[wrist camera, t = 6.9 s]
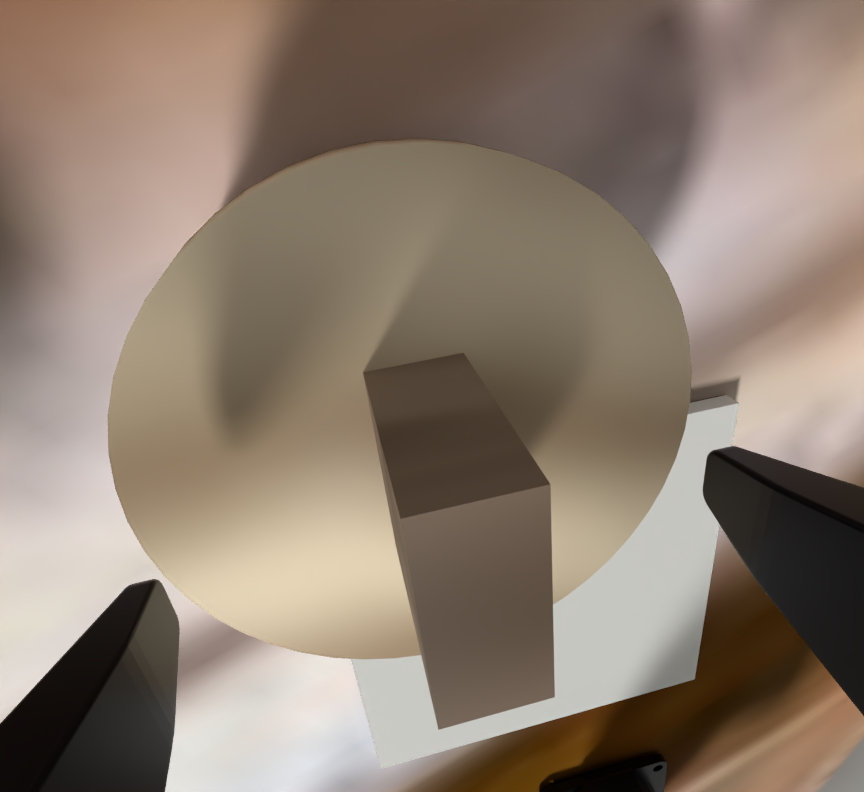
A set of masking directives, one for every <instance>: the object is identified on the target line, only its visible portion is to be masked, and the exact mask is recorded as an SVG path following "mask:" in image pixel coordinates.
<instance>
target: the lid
mask: <svg viewBox="0 0 864 792" xmlns="http://www.w3.org/2000/svg"><path fill="white" fill-rule="evenodd" d="M691 373H692V366H691V356H690V345H689V336H688V332H687V328H686V324H685V320H684V316H683V312H682V308H681V304H680V302H679V300H678V297H677V295H676V293H675V290H674V288H673V285H672V283H671V281H670V278H669V276H668V274H667V272H666V271H665V269H664V267H663V266H662V264H661V263H660V261H659V259H658V258H657V256H656V255H655V253H654V251H653V250H652V248H651V247H650V245H649V244H648V243H647V241H646V240H645V239H644V238H643V237H642V236H641V235H640V233H639V232H638V231H637V230H636V229H635V228H634V227H633V225H632V224H631V223H630V222H629V221H628V220H627V219H626V217H624V216H623V215H622V214H621V213H620V212H618V211H617V210H616V209H615V208H614V207H612V206H611V205H610V204H609V203H607V202H606V201H605V200H604V199H603V198H601V197H600V196H599V195H598V194H597V193H595V192H593V191H592V190H590V189H588V188H587V187H585V186H583V185H582V184H580V183H578V182H576V181H575V180H573V179H571V178H570V177H568V176H566V175H564V174H563V173H561V172H559V171H556V170H553V169H551V168H548V167H546V166H543V165H541V164H538V163H536V162H533V161H531V160H528V159H525V158H523V157H520V156H516V155H513V154H509V153H506V152H502V151H499V150H494V149H490V148H485V147H481V146H477V145H472V144H468V143H463V142H459V141H447V140H434V139H420V138H412V139H398V140H383V141H372V142H367V143H363V144H358V145H353V146H349V147H344V148H340V149H335V150H330V151H328V152H325V153H322V154H320V155H317V156H314V157H312V158H309V159H306V160H304V161H301V162H298V163H295V164H293V165H290V166H288V167H286V168H284V169H282V170H280V171H279V172H277V173H275V174H273V175H271V176H269V177H268V178H266V179H264V180H262V181H260V182H259V183H257V184H255V185H253V186H251V187H249V188H248V189H247V190H245V191H244V192H243V193H242V194H240V195H239V196H238V197H236V198H235V199H234V200H232V201H231V202H230V203H228V204H227V205H226V206H224V207H223V208H222V209H220V210H219V211H218V212H216V213H215V214H214V215H213V216H212V217H211V218H210V219H209V220H208V221H207V222H206V223H205V224H204V225H203V226H202V227H201V228H200V229H199V230H198V231H197V232H196V233H195V234H194V235H193V236H192V237H191V238H190V239H189V240H188V241H187V242H186V243H185V245H184V246H183V247H182V249H181V250H180V252H179V253H178V254H177V256H176V257H175V258H174V260H173V261H172V263H171V264H170V265H169V267H168V268H167V269H166V271H165V272H164V274H163V275H162V276H161V278H160V279H159V281H158V282H157V283H156V285H155V286H154V288H153V289H152V291H151V292H150V293H149V295H148V296H147V298H146V299H145V301H144V303H143V305H142V307H141V309H140V311H139V313H138V315H137V317H136V319H135V321H134V323H133V325H132V327H131V329H130V331H129V333H128V335H127V337H126V339H125V342H124V345H123V348H122V352H121V355H120V358H119V361H118V364H117V367H116V370H115V373H114V377H113V383H112V390H111V397H110V404H109V411H108V448H109V458H110V463H111V468H112V474H113V479H114V484H115V489H116V492H117V494H118V497H119V500H120V502H121V505H122V508H123V510H124V513H125V516H126V518H127V521H128V523H129V525H130V527H131V528H132V530H133V532H134V534H135V535H136V537H137V539H138V541H139V542H140V544H141V546H142V548H143V549H144V551H145V552H146V554H147V555H148V556H149V557H150V559H151V560H152V561H153V562H154V564H155V565H156V566H157V567H158V569H159V570H160V571H161V573H162V574H163V575H164V576H165V577H166V578H167V579H168V580H169V581H170V582H171V583H172V584H173V585H174V586H175V587H176V588H177V589H178V590H179V591H180V592H182V593H183V594H184V595H185V596H186V597H187V598H188V599H189V600H191V601H192V602H193V603H195V604H196V605H198V606H199V607H200V608H202V609H203V610H204V611H206V612H207V613H209V614H210V615H211V616H213V617H214V618H216V619H218V620H220V621H222V622H223V623H225V624H227V625H229V626H231V627H233V628H235V629H236V630H238V631H240V632H242V633H244V634H247V635H249V636H252V637H255V638H257V639H260V640H262V641H265V642H267V643H270V644H272V645H276V646H280V647H283V648H287V649H291V650H294V651H298V652H302V653H308V654H314V655H320V656H326V657H333V658H349V659H391V658H401V657H409V656H417V655H421V657H422V661H423V665H424V670H425V674H426V678H427V683H428V687H429V691H430V696H431V700H432V704H433V709H434V713H435V717H436V722H437V726H438V730H440V729H444V728H447V727H451V726H454V725H458V724H462V723H465V722H469V721H472V720H476V719H479V718H483V717H486V716H490V715H494V714H497V713H501V712H504V711H508V710H511V709H515V708H518V707H522V706H526V705H529V704H533V703H536V702H540V701H543V700H547V699H550V698H554V697H555V681H554V631H553V604H555V603H556V602H558V601H560V600H561V599H563V598H564V597H566V596H567V595H568V594H570V593H571V592H572V591H574V590H575V589H576V588H577V587H579V586H580V585H581V584H583V583H584V582H585V581H587V580H588V579H589V578H590V577H591V576H592V575H593V574H595V573H596V572H597V571H598V570H599V569H600V568H601V567H602V566H603V565H604V564H605V563H607V562H608V561H609V560H610V559H611V558H612V557H613V555H614V554H615V553H616V552H617V551H618V550H619V549H620V548H621V547H622V545H623V544H624V543H625V542H626V541H627V540H628V539H629V538H630V537H631V535H632V534H633V532H634V531H635V530H636V528H637V527H638V526H639V524H640V523H641V522H642V520H643V519H644V518H645V516H646V515H647V513H648V512H649V510H650V509H651V507H652V505H653V503H654V502H655V500H656V498H657V497H658V495H659V493H660V491H661V490H662V488H663V486H664V484H665V482H666V480H667V477H668V475H669V473H670V471H671V468H672V466H673V464H674V462H675V459H676V457H677V453H678V450H679V447H680V444H681V441H682V437H683V434H684V431H685V426H686V421H687V415H688V410H689V404H690V396H691Z"/></svg>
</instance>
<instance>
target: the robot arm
mask: <svg viewBox="0 0 864 792" xmlns="http://www.w3.org/2000/svg"><path fill="white" fill-rule="evenodd" d="M703 497H704V500H705V502H706V504H707V506H708V507H709V509H710V510H711V512H712V514H713V515H714V517H715V518H716V520H717V521H718V523H719V524H720V526H721V528H722V529H723V531H724V532H725V534H726V535H727V537H728V538H729V540H730V541H731V543H732V545H733V546H734V548H735V549H736V551H737V552H738V554H739V555H740V557H741V559H742V560H743V562H744V563H745V565H746V566H747V568H748V569H749V571H750V572H751V574H752V575H753V576H754V578H755V579H756V581H757V582H758V583H759V585H760V586H761V587H762V588H763V590H764V591H765V592H766V594H767V595H768V596H769V597H770V599H771V600H772V601H773V602H774V604H775V605H776V606H777V607H778V609H779V610H780V611H781V612H782V614H783V615H784V616H785V618H786V619H787V620H788V621H789V623H790V624H791V625H792V626H793V628H794V629H795V630H796V631H797V633H798V634H799V635H800V636H801V638H802V639H803V640H804V641H805V643H806V644H807V645H808V646H809V648H810V649H811V650H812V651H813V653H814V654H815V655H816V657H817V658H818V659H819V660H820V662H821V663H822V664H823V665H824V667H825V668H826V669H827V670H828V672H829V673H830V674H831V675H832V677H833V678H834V679H835V680H836V682H837V683H838V684H839V685H840V687H841V688H842V689H843V690H844V692H845V693H846V694H847V695H848V697H849V698H850V699H851V701H852V702H853V703H854V704H855V706H856V707H857V708H858V709H859V711H860V712H861V713H862V714H863V716H864V488H862V487H859V486H856V485H853V484H850V483H847V482H844V481H841V480H838V479H835V478H832V477H828V476H825V475H822V474H819V473H816V472H813V471H810V470H807V469H804V468H801V467H798V466H794V465H791V464H788V463H785V462H782V461H779V460H776V459H773V458H770V457H767V456H764V455H760V454H757V453H754V452H751V451H748V450H745V449H742V448H739V447H735V446H730V447H725V448H721V449H716V450H713V451H711V452H710V453H709V454H708V456H707V459H706V467H705V474H704V481H703ZM178 652H179V622H178V618H177V615H176V613H175V610H174V608H173V606H172V604H171V602H170V600H169V598H168V595H167V593H166V591H165V589H164V587H163V585H162V583H161V582H160V581H159V580H156V579H152V580H148V581H143V582H139V583H135V584H132V585H129V586H128V587H127V588H125V589H124V590H123V591H122V593H121V594H120V595H119V596H118V597H117V598H116V599H115V600H114V601H113V602H112V603H111V604H110V606H109V607H108V608H107V609H106V610H105V611H104V612H103V613H102V614H101V615H100V616H99V617H98V618H97V620H96V621H95V622H94V623H93V624H92V625H91V626H90V627H89V628H88V629H87V630H86V631H85V633H84V634H83V635H82V636H81V637H80V638H79V639H78V640H77V641H76V642H75V643H74V644H73V646H72V647H71V648H70V649H69V650H68V651H67V652H66V653H65V654H64V655H63V656H62V657H61V659H60V660H59V661H58V662H57V663H56V664H55V665H54V666H53V667H52V668H51V669H50V670H49V672H48V673H47V674H46V675H45V676H44V677H43V678H42V679H41V680H40V681H39V682H38V683H37V685H36V686H35V687H34V688H33V689H32V690H31V691H30V692H29V693H28V694H27V695H26V696H25V697H24V699H23V700H22V701H21V702H20V703H19V704H18V705H17V706H16V707H15V708H14V709H13V710H12V712H11V713H10V714H9V715H8V716H7V717H6V718H5V719H4V720H3V721H2V722H1V723H0V792H165V787H166V781H167V775H168V769H169V763H170V757H171V750H172V743H173V736H174V727H175V713H176V693H177V672H178ZM666 772H667V762H666V761H665V759H664V757H663V755H661V754H654V755H650V756H647V757H644V758H640V759H637V760H634V761H630V762H627V763H624V764H620V765H617V766H614V767H610V768H607V769H604V770H600V771H597V772H594V773H590V774H587V775H584V776H580V777H577V778H574V779H570V780H567V781H564V782H561V783H557V784H554V785H551V786H547V787H545V788H543V789H542V790H541V791H540V792H664V786H665V779H666Z"/></svg>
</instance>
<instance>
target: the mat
mask: <svg viewBox="0 0 864 792" xmlns="http://www.w3.org/2000/svg"><path fill="white" fill-rule="evenodd" d="M738 406H739V403H738V402H737V401H735V400H734V399H732V398H731V397H729V396H728V395H724V396H719V397H715V398H710V399H705V400H701V401H696V402H692V403H690V404H689V410H688V415H687V421H686V426H685V431H684V434H683V437H682V441H681V444H680V447H679V450H678V453H677V457H676V459H675V462H674V464H673V466H672V468H671V471H670V473H669V475H668V477H667V480H666V482H665V484H664V486H663V488H662V490H661V491H660V493H659V495H658V497H657V498H656V500H655V502H654V503H653V505H652V507H651V509H650V510H649V512H648V513H647V515H646V516H645V518H644V519H643V520H642V522H641V523H640V524H639V526H638V527H637V528H636V530H635V531H634V532H633V534H632V535H631V537H630V538H629V539H628V540H627V541H626V542H625V543H624V544H623V545H622V547H621V548H620V549H619V550H618V551H617V552H616V553H615V554H614V555H613V557H612V558H611V559H610V560H609V561H608V562H607V563H605V564H604V565H603V566H602V567H601V568H600V569H599V570H598V571H597V572H596V573H595V574H593V575H592V576H591V577H590V578H589V579H588V580H587V581H585V582H584V583H583V584H581V585H580V586H579V587H577V588H576V589H575V590H574V591H572V592H571V593H570V594H568V595H567V596H566V597H564V598H563V599H561V600H560V601H558V602H556V603H555V604H553V631H554V681H555V697H554V698H550V699H547V700H543V701H540V702H536V703H533V704H529V705H526V706H522V707H518V708H515V709H511V710H508V711H504V712H501V713H497V714H494V715H490V716H486V717H483V718H479V719H476V720H472V721H469V722H465V723H462V724H458V725H454V726H451V727H447V728H444V729H440V730H438V726H437V722H436V717H435V713H434V709H433V704H432V700H431V696H430V691H429V687H428V683H427V678H426V674H425V670H424V665H423V661H422V657H421V655H417V656H409V657H401V658H391V659H351V661H352V665H353V669H354V672H355V676H356V680H357V683H358V687H359V691H360V694H361V698H362V702H363V706H364V709H365V713H366V717H367V720H368V724H369V728H370V731H371V735H372V739H373V742H374V746H375V750H376V754H377V757H378V761H379V765H380V768H381V769H383V768H386V767H390V766H393V765H397V764H400V763H404V762H407V761H411V760H414V759H418V758H421V757H425V756H428V755H432V754H435V753H439V752H442V751H446V750H449V749H453V748H456V747H460V746H463V745H467V744H470V743H474V742H477V741H481V740H484V739H488V738H491V737H495V736H498V735H502V734H505V733H509V732H512V731H516V730H519V729H523V728H526V727H530V726H533V725H537V724H540V723H544V722H547V721H551V720H554V719H558V718H561V717H565V716H568V715H572V714H575V713H579V712H582V711H586V710H589V709H593V708H596V707H600V706H603V705H607V704H610V703H614V702H617V701H621V700H624V699H628V698H631V697H635V696H638V695H642V694H645V693H649V692H652V691H656V690H659V689H663V688H666V687H670V686H673V685H677V684H680V683H684V682H687V681H691V680H694V679H695V674H696V668H697V662H698V655H699V649H700V643H701V637H702V630H703V624H704V618H705V612H706V605H707V599H708V593H709V587H710V581H711V574H712V568H713V562H714V556H715V549H716V543H717V537H718V531H719V523H718V521H717V520H716V518H715V517H714V515H713V514H712V512H711V510H710V509H709V507H708V506H707V504H706V502H705V500H704V497H703V481H704V474H705V467H706V459H707V456H708V454H709V453H710V452H711V451H713V450H716V449H721V448H725V447H730V446H732V443H733V437H734V431H735V425H736V418H737V412H738Z"/></svg>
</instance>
